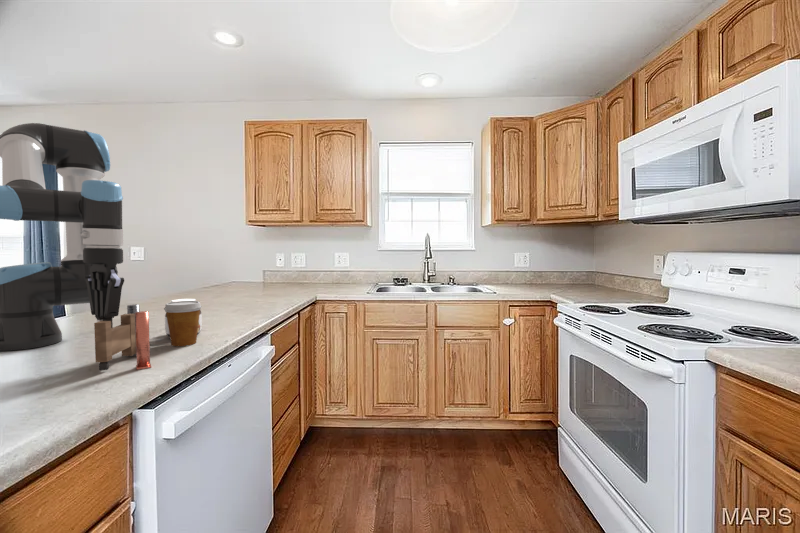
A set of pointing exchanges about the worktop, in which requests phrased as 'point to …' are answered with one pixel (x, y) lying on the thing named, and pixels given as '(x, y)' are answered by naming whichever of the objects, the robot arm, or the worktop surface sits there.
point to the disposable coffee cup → (183, 321)
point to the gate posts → (141, 336)
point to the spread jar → (198, 323)
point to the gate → (114, 340)
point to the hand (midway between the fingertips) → (105, 345)
